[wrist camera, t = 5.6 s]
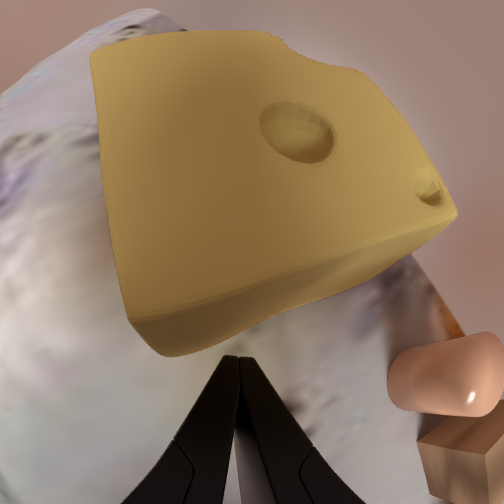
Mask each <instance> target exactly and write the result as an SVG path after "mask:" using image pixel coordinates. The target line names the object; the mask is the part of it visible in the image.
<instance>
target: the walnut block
mask: <svg viewBox="0 0 504 504" xmlns="http://www.w3.org/2000/svg"><path fill="white" fill-rule="evenodd" d="M416 442H417V445H418V449H419V452H420V456H421V460H422V464H423V468H424V472H425V476H426V480H427V484H428V488H429V492H430V494H431V495H433V496H436V497H438V498H441V499H443V500H446V501H449V502H451V503H454V504H501V502H502V501H503V500H504V400H499V402H498V403H497V405H496V406H495V407H494V409H493V410H492V411H491V412H489V413H488V414H486V415H484V416H481V417H468V416H453V415H449V416H448V417H447V418H446V419H445V420H443V421H442V422H441V423H440V424H439V425H437V426H436V427H435V428H434V429H432V430H431V431H430V432H428V433H427V434H426V435H425V436H423V437H422V438H421V439H419V440H418V441H416Z"/></svg>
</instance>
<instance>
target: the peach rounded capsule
mask: <svg viewBox="0 0 504 504" xmlns="http://www.w3.org/2000/svg"><path fill="white" fill-rule="evenodd" d="M387 389H388V394H389V396H390V399H391V400H392V402H393V403H394V405H396V406H397V407H398V408H400V409H402V410H405V411H413V412H421V413H430V414H441V415H453V416H468V417H481V416H484V415H486V414H488V413H489V412H491V411H492V410H493V409H494V407H495V406H496V405H497V403H498V402H499V400H500V398H501V396H502V393H503V391H504V347H503V345H502V343H501V341H500V340H499V338H497V337H496V335H494V334H492V333H490V332H482V333H477V334H473V335H469V336H465V337H461V338H456V339H451V340H447V341H442V342H437V343H432V344H427V345H421V346H416V347H410V348H407V349H405V350H403V351H402V352H400V353H399V354H398V355H397V357H396V358H395V359H394V361H393V362H392V364H391V366H390V369H389V372H388V377H387Z"/></svg>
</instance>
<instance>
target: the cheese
mask: <svg viewBox="0 0 504 504" xmlns="http://www.w3.org/2000/svg"><path fill="white" fill-rule="evenodd" d="M90 68H91V76H92V82H93V88H94V95H95V102H96V111H97V120H98V132H99V144H100V158H101V169H102V179H103V189H104V196H105V203H106V210H107V217H108V224H109V230H110V236H111V242H112V248H113V254H114V259H115V264H116V269H117V274H118V279H119V284H120V289H121V293H122V297H123V301H124V306H125V310H126V314H127V318H128V320H129V322H130V324H131V325H132V326H133V327H134V329H135V330H136V331H137V332H138V334H139V335H140V336H141V337H142V338H143V340H144V341H145V342H146V343H147V344H148V345H149V346H150V347H151V348H152V349H153V350H155V351H156V352H157V353H158V354H160V355H162V356H165V357H179V356H183V355H187V354H191V353H195V352H198V351H201V350H204V349H207V348H209V347H212V346H214V345H216V344H218V343H221V342H223V341H225V340H227V339H229V338H231V337H233V336H234V335H236V334H238V333H240V332H242V331H244V330H245V329H247V328H249V327H251V326H253V325H255V324H257V323H259V322H261V321H263V320H265V319H268V318H270V317H273V316H275V315H278V314H281V313H283V312H286V311H289V310H292V309H294V308H297V307H300V306H303V305H306V304H309V303H312V302H314V301H317V300H320V299H323V298H326V297H329V296H331V295H334V294H337V293H340V292H343V291H345V290H348V289H350V288H353V287H356V286H358V285H360V284H362V283H364V282H366V281H368V280H370V279H371V278H373V277H374V276H376V275H378V274H379V273H381V272H382V271H384V270H386V269H387V268H389V267H390V266H391V265H393V264H394V263H395V262H397V261H398V260H400V259H401V258H403V257H404V256H406V255H408V254H410V253H411V252H413V251H415V250H416V249H418V248H420V247H421V246H422V245H424V244H425V243H427V242H428V241H430V240H431V239H432V238H433V237H434V236H436V235H438V234H439V233H440V232H441V231H442V230H443V229H445V227H447V226H448V225H449V224H450V223H451V222H453V221H454V220H455V219H456V217H457V215H458V211H457V208H456V206H455V204H454V202H453V200H452V198H451V196H450V194H449V192H448V190H447V188H446V186H445V184H444V182H443V180H442V179H441V177H440V175H439V173H438V171H437V170H436V168H435V166H434V164H433V163H432V161H431V159H430V158H429V156H428V155H427V153H426V151H425V149H424V148H423V146H422V144H421V143H420V141H419V139H418V138H417V136H416V135H415V133H414V132H413V130H412V129H411V127H410V126H409V124H408V123H407V121H406V120H405V119H404V118H403V117H402V115H401V114H400V112H399V111H398V110H397V109H396V108H395V107H394V105H393V104H392V103H391V102H390V101H389V99H388V98H387V97H386V96H385V94H384V93H383V92H382V91H381V90H380V89H379V88H378V87H377V85H376V84H375V83H374V82H373V81H372V80H371V79H369V78H368V77H367V76H366V75H365V74H363V73H361V72H359V71H357V70H355V69H352V68H345V67H340V66H334V65H328V64H325V63H322V62H318V61H315V60H313V59H310V58H307V57H305V56H303V55H300V54H298V53H296V52H295V51H293V50H292V49H291V48H289V47H288V46H287V45H286V44H285V43H284V42H283V41H282V39H280V38H279V37H277V36H274V35H272V34H270V33H268V32H260V31H247V30H246V31H245V30H222V31H221V30H219V31H183V32H169V33H161V34H154V35H147V36H142V37H138V38H133V39H129V40H125V41H122V42H118V43H115V44H112V45H109V46H106V47H103V48H100V49H98V50H95V51H94V52H92V54H91V55H90Z"/></svg>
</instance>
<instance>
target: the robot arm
mask: <svg viewBox="0 0 504 504" xmlns="http://www.w3.org/2000/svg"><path fill="white" fill-rule="evenodd" d="M233 435H234V443H235V452H236V461H237V469H238V478H239V486H240V494H241V501H242V504H366V503H365V502H364V501H363V500H362V499H361V498H360V497H359V496H358V495H356V494H355V493H354V492H353V491H352V490H351V489H350V488H349V487H348V486H347V485H346V484H345V483H344V482H343V480H342V479H341V478H340V477H339V476H338V475H337V474H336V473H335V472H334V471H333V470H332V468H331V467H330V466H329V465H328V463H327V462H326V461H325V460H324V458H323V457H322V456H321V454H320V453H319V452H318V450H317V449H316V448H315V446H313V444H312V442H311V441H310V439H309V438H308V437H307V435H306V434H305V432H304V431H303V430H302V428H301V427H300V425H299V424H298V422H297V421H296V420H295V418H294V417H293V415H292V414H291V412H290V411H289V410H288V408H287V407H286V405H285V404H284V402H283V401H282V399H281V398H280V396H279V395H278V393H277V392H276V390H275V389H274V388H273V386H272V385H271V383H270V382H269V380H268V379H267V377H266V376H265V374H264V372H263V371H262V369H261V368H260V366H259V365H258V363H257V362H256V360H255V359H254V358H252V357H239V358H238V357H237V356H231V355H224V356H223V357H222V359H221V361H220V362H219V364H218V366H217V367H216V369H215V371H214V372H213V374H212V376H211V377H210V379H209V381H208V382H207V384H206V386H205V387H204V389H203V391H202V392H201V394H200V396H199V397H198V399H197V401H196V402H195V404H194V405H193V407H192V409H191V410H190V412H189V414H188V415H187V417H186V418H185V420H184V422H183V423H182V425H181V427H180V428H179V430H178V431H177V433H176V435H175V436H174V438H173V440H172V441H171V442H170V444H169V445H168V447H167V449H166V450H165V452H164V453H163V455H162V456H161V457H160V459H159V460H158V462H157V463H156V465H155V466H154V467H153V468H152V469H151V471H150V472H149V473H148V474H147V475H146V477H145V478H144V479H143V480H142V481H141V482H140V483H139V484H138V486H137V487H136V488H135V489H134V490H133V491H132V492H131V493H130V494H129V495H128V496H127V497H126V498H125V499H124V501H123V502H122V503H121V504H222V502H223V496H224V490H225V484H226V478H227V472H228V466H229V460H230V454H231V448H232V442H233ZM312 446H313V447H312Z"/></svg>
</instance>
